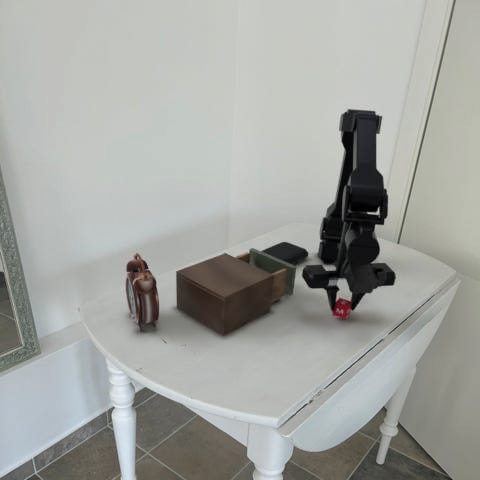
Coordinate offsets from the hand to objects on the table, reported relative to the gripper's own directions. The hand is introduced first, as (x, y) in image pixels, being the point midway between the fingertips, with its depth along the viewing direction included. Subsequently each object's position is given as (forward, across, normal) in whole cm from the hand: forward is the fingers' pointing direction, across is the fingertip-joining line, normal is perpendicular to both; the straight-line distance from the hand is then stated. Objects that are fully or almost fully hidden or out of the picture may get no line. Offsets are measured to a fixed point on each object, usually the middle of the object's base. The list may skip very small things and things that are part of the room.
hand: (342, 310), depth 105 cm
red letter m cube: (+1, 0, 0) cm, 1 cm away
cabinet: (+2, -25, +5) cm, 26 cm away
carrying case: (+2, -6, +30) cm, 31 cm away
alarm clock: (+2, -42, +2) cm, 43 cm away
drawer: (+1, -17, +11) cm, 21 cm away
